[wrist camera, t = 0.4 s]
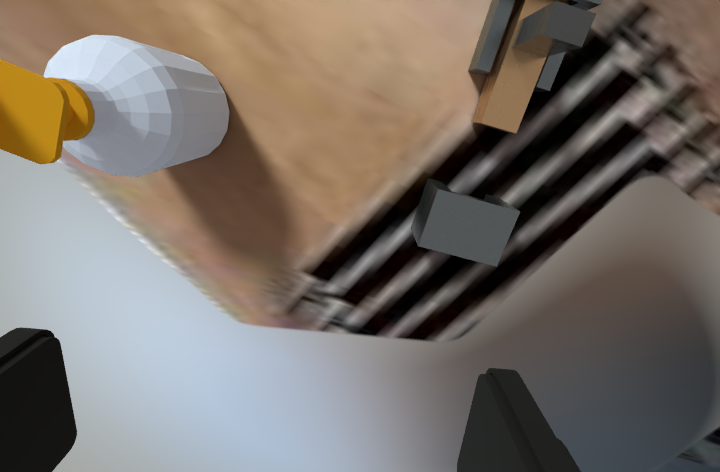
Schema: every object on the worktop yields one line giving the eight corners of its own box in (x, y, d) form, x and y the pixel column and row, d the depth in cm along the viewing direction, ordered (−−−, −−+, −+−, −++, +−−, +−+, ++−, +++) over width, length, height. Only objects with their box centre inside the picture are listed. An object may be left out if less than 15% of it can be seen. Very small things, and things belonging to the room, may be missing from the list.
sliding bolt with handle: (543, -84, 29) (612, -156, 21) (581, -71, 30) (663, -138, 22) (471, 121, 34) (504, 125, 26) (503, 131, 35) (546, 138, 27)
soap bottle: (216, 173, 36) (-43, 289, 13) (122, 135, 35) (-342, 189, 12) (243, 81, 34) (-20, 22, 10) (143, 37, 33) (-402, -139, 9)
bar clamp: (517, -91, 30) (548, -131, 25) (603, -61, 30) (650, -94, 25) (410, 228, 38) (418, 246, 33) (479, 246, 39) (496, 266, 34)
